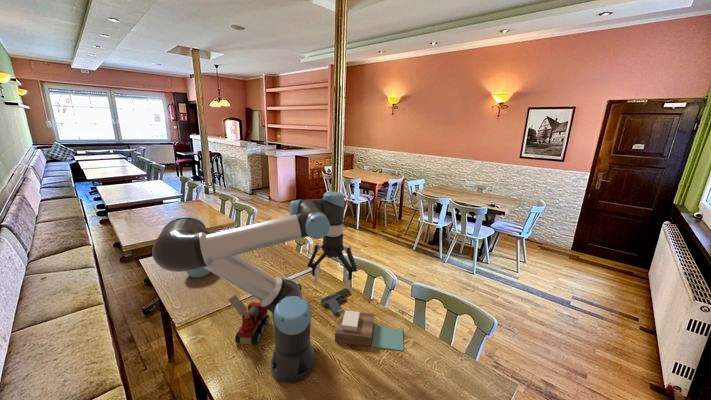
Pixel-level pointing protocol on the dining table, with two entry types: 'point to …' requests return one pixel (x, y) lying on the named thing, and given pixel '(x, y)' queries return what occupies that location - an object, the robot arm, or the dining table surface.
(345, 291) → the handgun
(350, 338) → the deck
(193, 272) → the bowl
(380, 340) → the mat
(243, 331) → the toy fire truck
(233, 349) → the dining table surface
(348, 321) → the white rectangular block
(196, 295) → the dining table surface
